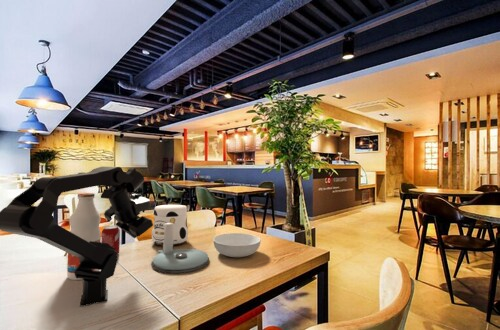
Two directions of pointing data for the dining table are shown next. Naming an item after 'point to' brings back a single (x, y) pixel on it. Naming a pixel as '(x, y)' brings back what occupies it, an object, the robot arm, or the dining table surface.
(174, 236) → the milk container
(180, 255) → the pivot base
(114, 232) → the soda can
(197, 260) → the grey round stand
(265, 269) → the dining table surface
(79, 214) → the fruit juice
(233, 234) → the serving bowl
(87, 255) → the robot arm
